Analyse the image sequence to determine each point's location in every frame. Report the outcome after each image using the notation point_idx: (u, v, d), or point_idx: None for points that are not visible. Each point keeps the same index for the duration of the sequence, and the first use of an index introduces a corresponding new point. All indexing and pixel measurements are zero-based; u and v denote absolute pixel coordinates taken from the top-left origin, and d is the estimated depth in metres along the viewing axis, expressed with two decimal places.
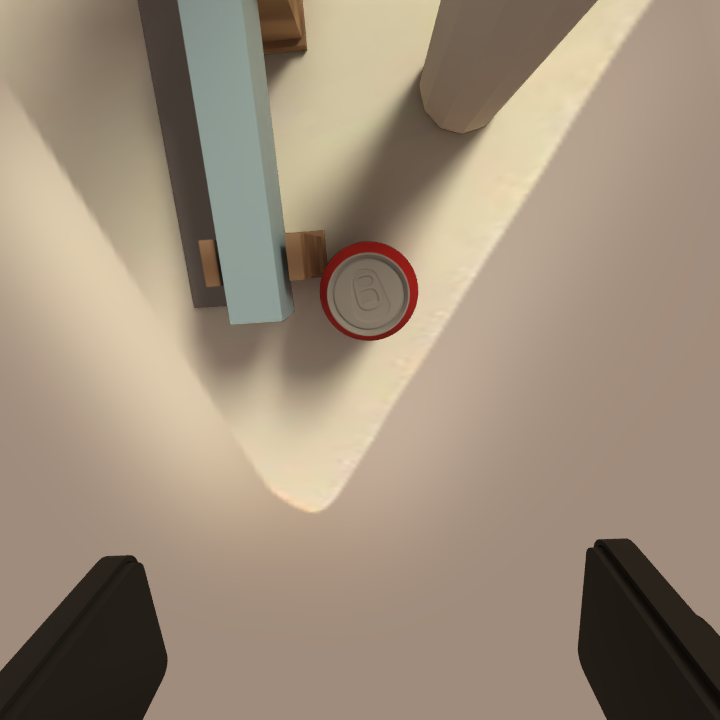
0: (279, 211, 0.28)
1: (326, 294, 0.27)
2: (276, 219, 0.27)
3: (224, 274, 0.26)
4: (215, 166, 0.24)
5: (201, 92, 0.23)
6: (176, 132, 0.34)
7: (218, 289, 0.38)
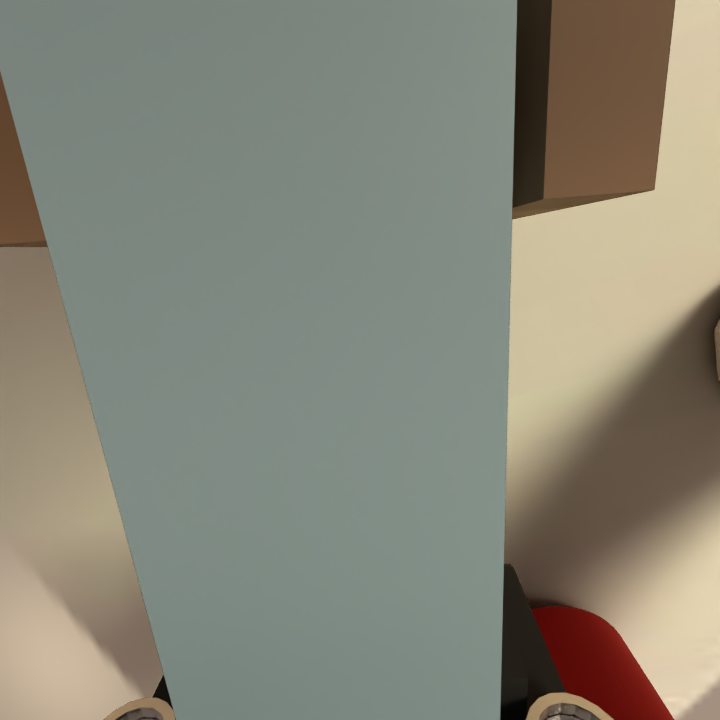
0: None
1: None
2: None
3: None
4: None
5: None
6: None
7: None
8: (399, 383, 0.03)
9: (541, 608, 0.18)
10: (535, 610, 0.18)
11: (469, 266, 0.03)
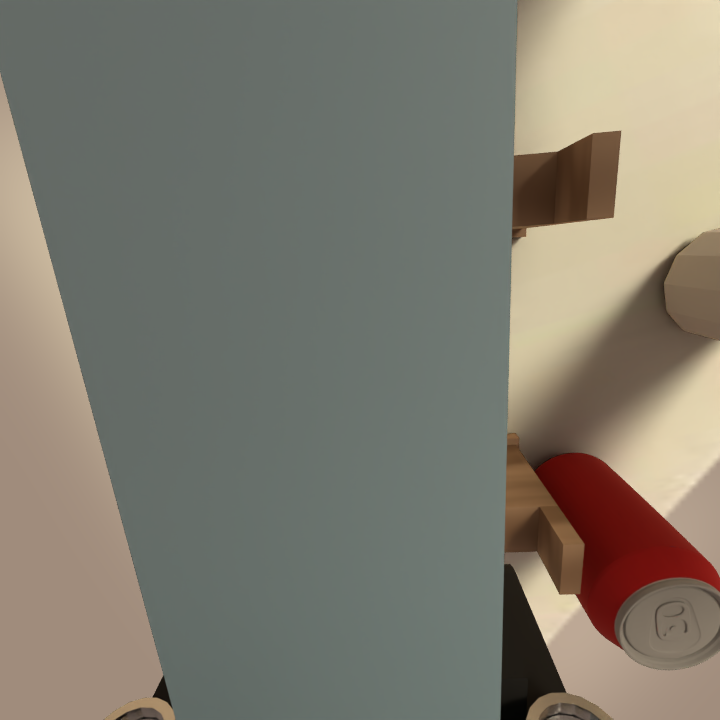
0: None
1: (611, 617, 0.20)
2: None
3: None
4: None
5: None
6: None
7: None
8: (399, 389, 0.03)
9: (565, 454, 0.29)
10: (561, 455, 0.29)
11: (469, 273, 0.03)
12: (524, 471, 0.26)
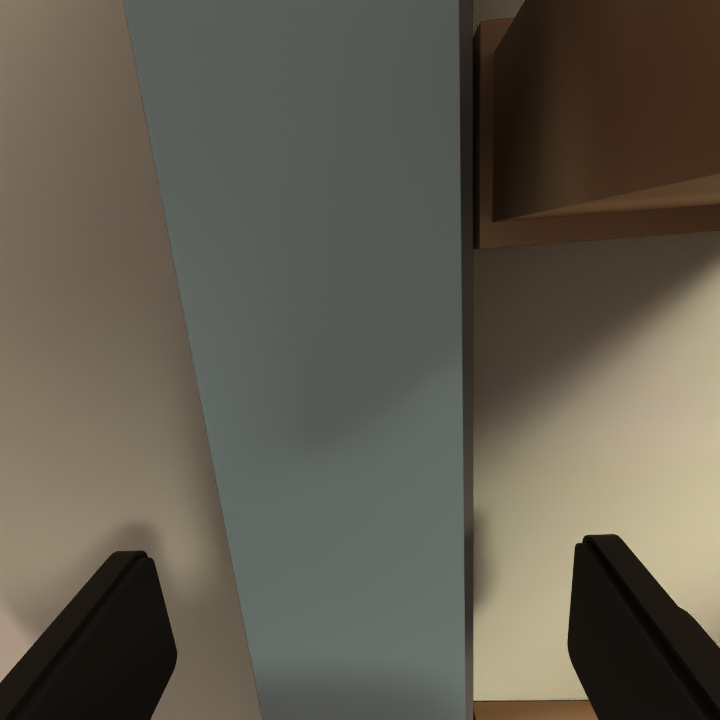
0: None
1: None
2: None
3: None
4: None
5: (283, 670, 0.07)
6: None
7: None
8: (391, 331, 0.05)
9: None
10: None
11: (435, 255, 0.05)
12: None
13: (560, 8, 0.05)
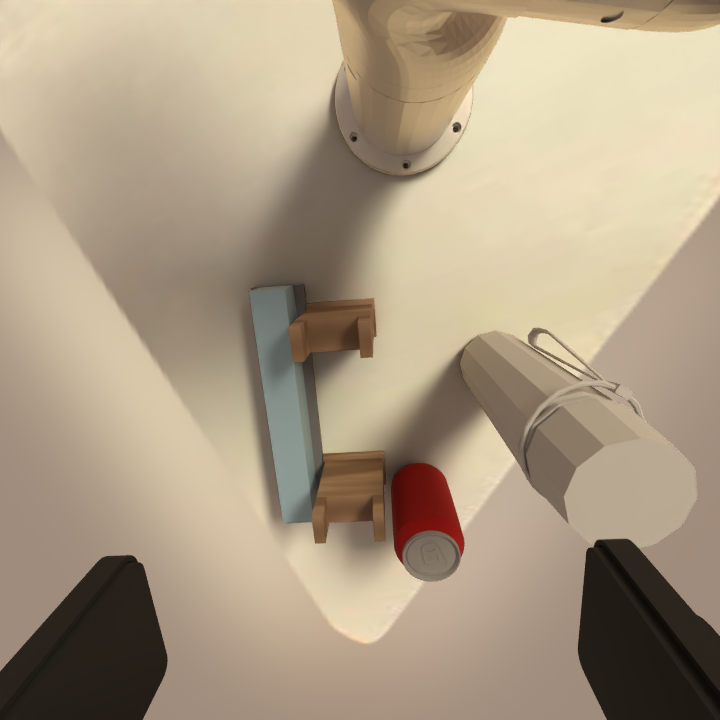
0: (311, 452, 0.46)
1: (401, 553, 0.38)
2: (310, 461, 0.45)
3: (280, 497, 0.45)
4: (277, 445, 0.43)
5: (271, 412, 0.42)
6: None
7: None
8: (284, 358, 0.40)
9: (413, 464, 0.47)
10: (411, 464, 0.47)
11: (289, 349, 0.40)
12: (376, 475, 0.44)
13: None
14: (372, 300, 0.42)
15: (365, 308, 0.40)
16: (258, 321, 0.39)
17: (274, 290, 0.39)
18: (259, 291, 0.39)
